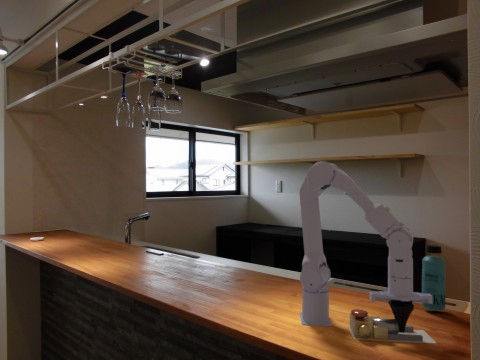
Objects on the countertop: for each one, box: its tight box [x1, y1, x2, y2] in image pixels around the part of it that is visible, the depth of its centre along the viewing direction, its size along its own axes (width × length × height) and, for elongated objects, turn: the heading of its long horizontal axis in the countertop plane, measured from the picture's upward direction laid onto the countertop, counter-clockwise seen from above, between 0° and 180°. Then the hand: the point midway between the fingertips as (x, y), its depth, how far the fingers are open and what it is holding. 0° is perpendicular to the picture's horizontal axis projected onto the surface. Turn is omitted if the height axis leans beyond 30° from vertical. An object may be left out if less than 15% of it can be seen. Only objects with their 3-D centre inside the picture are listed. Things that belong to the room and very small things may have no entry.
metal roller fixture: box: [347, 324, 437, 344], centre depth 92 cm, size 8×19×2 cm, turn 84°
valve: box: [349, 308, 389, 342], centre depth 92 cm, size 10×8×5 cm
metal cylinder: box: [371, 317, 398, 334], centre depth 91 cm, size 4×6×4 cm, turn 84°
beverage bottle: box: [420, 244, 447, 312], centre depth 110 cm, size 6×7×20 cm
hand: (400, 330), depth 91 cm, fingers closed
